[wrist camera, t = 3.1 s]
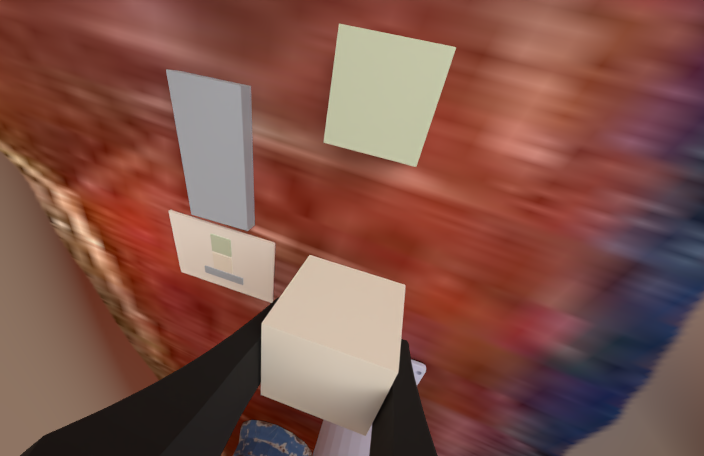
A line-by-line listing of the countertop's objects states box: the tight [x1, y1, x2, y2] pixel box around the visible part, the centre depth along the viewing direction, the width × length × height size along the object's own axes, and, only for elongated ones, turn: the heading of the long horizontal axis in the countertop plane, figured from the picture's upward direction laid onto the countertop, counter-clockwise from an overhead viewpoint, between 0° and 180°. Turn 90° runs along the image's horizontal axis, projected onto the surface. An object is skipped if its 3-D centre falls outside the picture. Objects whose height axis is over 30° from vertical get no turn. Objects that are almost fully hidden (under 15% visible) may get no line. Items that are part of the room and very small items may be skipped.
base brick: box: [166, 69, 255, 231], centre depth 18 cm, size 10×5×2 cm, turn 170°
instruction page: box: [169, 210, 275, 303], centre depth 23 cm, size 7×10×1 cm
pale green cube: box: [323, 24, 456, 167], centre depth 12 cm, size 4×4×4 cm
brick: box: [261, 255, 405, 436], centre depth 10 cm, size 4×4×4 cm
